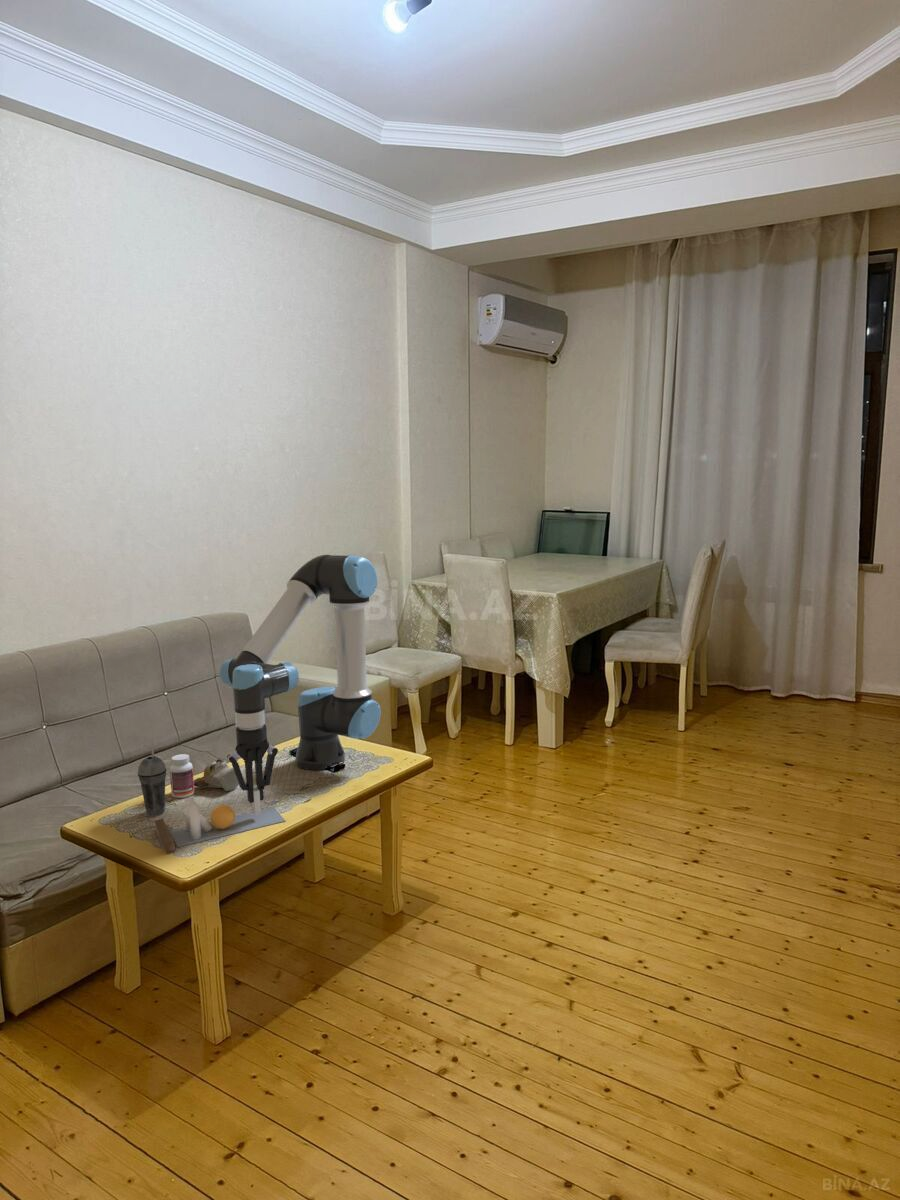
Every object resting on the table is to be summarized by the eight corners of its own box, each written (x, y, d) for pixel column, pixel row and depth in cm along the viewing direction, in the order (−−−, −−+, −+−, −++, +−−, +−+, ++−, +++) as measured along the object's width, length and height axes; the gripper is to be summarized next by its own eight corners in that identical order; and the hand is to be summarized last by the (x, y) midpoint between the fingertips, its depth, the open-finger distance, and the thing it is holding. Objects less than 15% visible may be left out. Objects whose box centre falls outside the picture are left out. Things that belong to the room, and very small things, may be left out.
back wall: (164, 829, 203) (163, 818, 203) (174, 851, 191) (173, 840, 191) (155, 831, 202) (154, 820, 202) (166, 853, 190) (165, 842, 190)
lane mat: (273, 807, 215) (273, 807, 215) (285, 821, 206) (285, 820, 206) (169, 831, 202) (169, 831, 202) (177, 847, 193) (177, 846, 193)
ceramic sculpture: (223, 767, 221) (184, 762, 228) (226, 797, 222) (187, 792, 229) (249, 755, 230) (211, 751, 237) (252, 784, 231) (214, 779, 238)
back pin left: (200, 835, 199) (197, 803, 198) (202, 839, 197) (199, 806, 196) (190, 837, 198) (187, 805, 197) (192, 841, 196) (189, 808, 195)
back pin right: (195, 827, 204) (193, 796, 202) (197, 831, 202) (195, 799, 200) (186, 830, 203) (183, 798, 201) (188, 833, 201) (185, 801, 199)
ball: (203, 811, 203) (215, 828, 205) (209, 820, 198) (221, 837, 200) (223, 796, 205) (235, 813, 208) (230, 805, 200) (242, 822, 202)
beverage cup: (135, 816, 211) (128, 744, 208) (154, 805, 218) (148, 735, 215) (156, 820, 209) (150, 747, 206) (175, 809, 215) (170, 738, 212)
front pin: (211, 822, 203) (188, 802, 199) (213, 826, 201) (190, 805, 197) (204, 830, 202) (180, 809, 199) (206, 833, 200) (182, 813, 197)
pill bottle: (199, 793, 226) (196, 756, 224) (179, 800, 221) (176, 762, 219) (187, 788, 230) (184, 751, 228) (167, 795, 225) (164, 757, 223)
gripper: (271, 717, 210) (276, 802, 214) (221, 726, 204) (227, 813, 207) (280, 725, 204) (285, 812, 207) (229, 734, 197) (235, 824, 201)
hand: (256, 812), depth 207 cm, fingers closed
